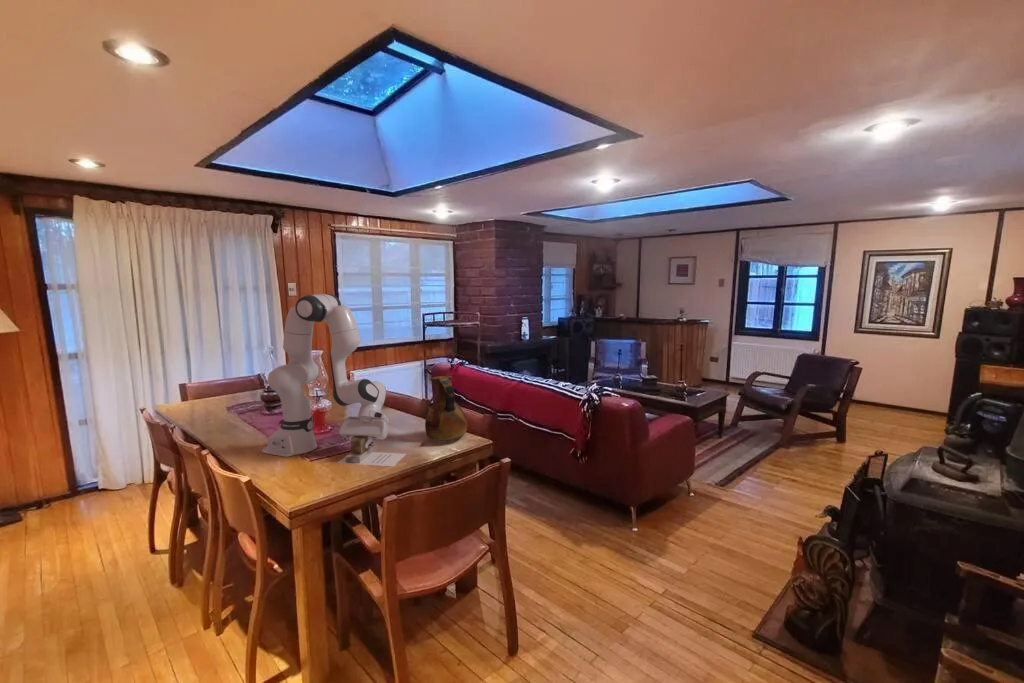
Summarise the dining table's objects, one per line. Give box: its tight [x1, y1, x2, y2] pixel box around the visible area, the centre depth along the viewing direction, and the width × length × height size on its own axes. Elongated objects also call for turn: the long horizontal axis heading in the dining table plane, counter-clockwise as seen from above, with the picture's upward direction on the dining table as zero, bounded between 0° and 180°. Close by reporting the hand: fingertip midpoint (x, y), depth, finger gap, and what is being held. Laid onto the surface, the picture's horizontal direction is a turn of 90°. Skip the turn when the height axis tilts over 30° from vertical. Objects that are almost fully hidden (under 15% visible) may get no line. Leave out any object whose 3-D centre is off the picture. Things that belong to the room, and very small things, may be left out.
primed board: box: [337, 451, 407, 467], centre depth 182 cm, size 24×13×2 cm, turn 81°
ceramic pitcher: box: [424, 375, 468, 441], centre depth 207 cm, size 20×20×30 cm
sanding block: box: [344, 437, 373, 463], centre depth 182 cm, size 6×11×8 cm, turn 171°
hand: (358, 447), depth 181 cm, fingers closed on sanding block, 4 cm apart
